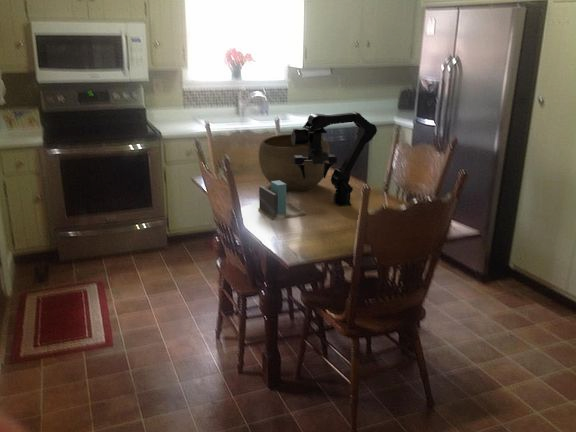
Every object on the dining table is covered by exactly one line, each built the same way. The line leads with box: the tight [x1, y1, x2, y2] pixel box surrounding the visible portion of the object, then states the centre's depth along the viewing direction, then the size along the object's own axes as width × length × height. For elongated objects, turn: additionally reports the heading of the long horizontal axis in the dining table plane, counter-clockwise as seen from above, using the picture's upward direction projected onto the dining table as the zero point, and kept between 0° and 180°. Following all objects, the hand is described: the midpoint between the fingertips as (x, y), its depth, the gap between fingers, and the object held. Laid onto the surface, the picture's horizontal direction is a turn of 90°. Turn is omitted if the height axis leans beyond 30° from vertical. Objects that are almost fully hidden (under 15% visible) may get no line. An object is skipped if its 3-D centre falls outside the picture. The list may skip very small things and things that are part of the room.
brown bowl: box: [258, 133, 331, 192], centre depth 274 cm, size 35×35×25 cm
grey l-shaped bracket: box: [257, 185, 306, 221], centre depth 237 cm, size 16×14×11 cm
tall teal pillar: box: [270, 180, 287, 215], centre depth 235 cm, size 4×6×13 cm, turn 28°
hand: (314, 178), depth 244 cm, fingers open, 9 cm apart
